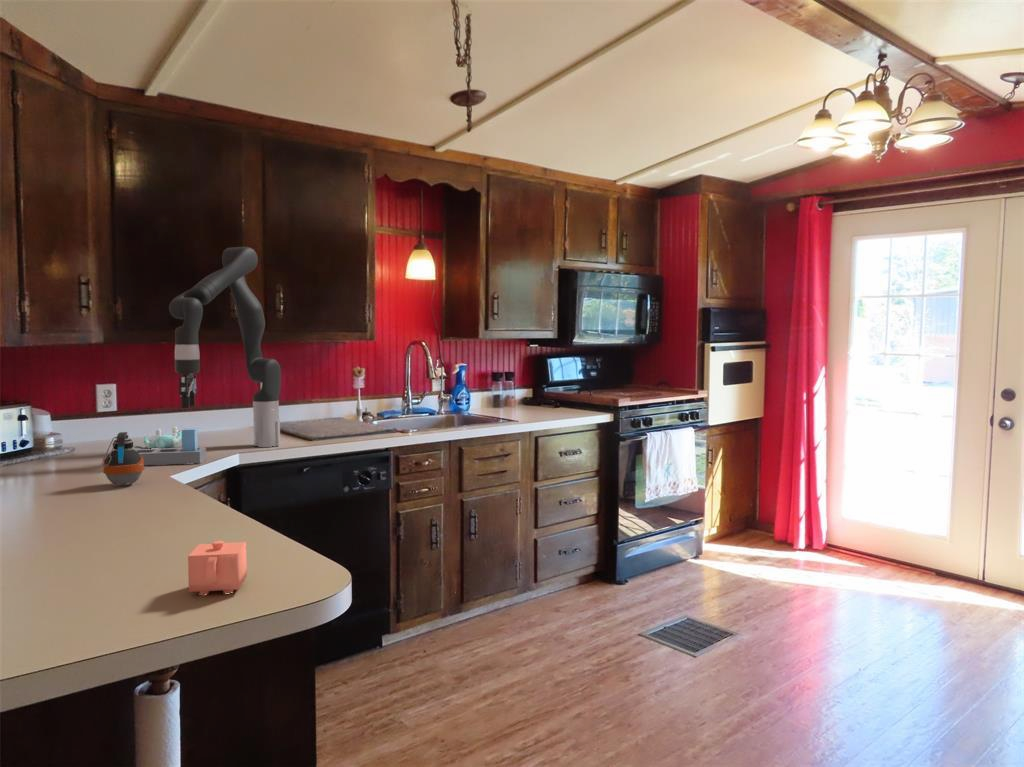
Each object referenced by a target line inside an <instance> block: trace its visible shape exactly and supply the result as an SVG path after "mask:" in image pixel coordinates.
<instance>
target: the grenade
mask: <svg viewBox="0 0 1024 767" xmlns="http://www.w3.org/2000/svg"><path fill="white" fill-rule="evenodd" d="M114 439H115V440H114ZM111 446H112V449H111V450H110V448H111ZM109 450H110V452H109ZM108 452H109V453H108ZM101 466H102V469H103V475H104V474H105V476H106V478H107V480H109V482H110V483H112V484H113V485H116V486H120V487H123V486H124V487H126V486H129V485H130V486H131V485H132V484H134V483H136V482H137V481H138V480H139V479H140V477H141V476H142V473H143V471H144V470H145V466H144V460H143V457H142V455H141V454H139V453H138V452H137V451H135V449H134V442H133V440H132V439H130V438H129V435H128V432H127V431H123V432H119V433H117V435H116V436H114V437H112V439H111V442H110V444H109V446H108V448H107V451H106V453H105V454H104V457H103V459H102V461H101Z"/></svg>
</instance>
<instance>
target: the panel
mask: <svg viewBox="0 0 1024 767" xmlns="http://www.w3.org/2000/svg"><path fill="white" fill-rule="evenodd" d="M134 450H135V451H137V452H138V453H139V454H141V455H142V457H143V460H144V465H156V466H167V465H166V464H184V465H188V464H187V463H198V464H197V465H201V464H202V463H203V462H204V461H205V460H206V459H207V447H206V446H201V447H200V446H198V450H197V451H182V447H170V448H160V449H150V448H136V449H134ZM201 462H202V463H201ZM200 463H201V464H200Z"/></svg>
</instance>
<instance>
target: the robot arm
mask: <svg viewBox="0 0 1024 767" xmlns="http://www.w3.org/2000/svg"><path fill="white" fill-rule="evenodd" d="M221 261H222V265H223V266H222V267H223V268H221V269H219V270H216V271H214V272H212V273H210V274H209V275H206V276H204V277H203V278H202V279H200V281H198V282H197V283H196V284H195V285H194V286H192V287H191V288H190V289H187V290H186V291H184V292H183V293H181V294H178V295H177V296H175V297H174V298H173V299H172V300H171V301H170V303H169V305H168V310H169V312H168V313H169V314H170V315H171V316H172V317H173V318H174V319H177V320H183V323H182V325H181V326H178V327H176V328H175V330H174V342H175V345H174V371H175V373H178V374H181V376H179V377H178V390H179V391H178V395H179V396H180V397H181V408H182V409H190V407H194V406H196V393H197V392H198V387H197V386H198V385H197V373H199V372H200V371H201V363H200V362H201V360H200V358H201V357H200V355H201V354H200V346H199V330H200V328H201V323H202V320H203V314H204V306H206V305H208V304H209V303H211V302H212V301H213V300H214V299H215V298H216V297H217V296H218V295H219V294H221V292H223V291H224V290H225V289H226V288H228V287H229V288H230V291H231V295H232V298H233V302H234V307H235V312H236V316H237V317H236V318H237V321H238V322H237V323H238V325H239V328H240V333H241V339H242V343H243V348H244V355H245V357H244V358H245V364H246V370H247V371H246V372H247V375H248V377H249V379H250V380H251V381H252V382H253V383H257V384H258V383H259V384H260V383H261V389H259V391H258V390H257V391H256V392H254V393H253V394H252V412H253V413H252V414H253V418H252V419H253V446H254V447H255V446H258V447H257V448H270V447H271V448H272V446H273V447H280V445H281V423H280V422H281V420H280V409H279V408H280V404H279V403H280V402H279V401H280V399H279V397H280V394H281V388H282V387H281V383H282V382H281V381H282V369H281V365H280V363H279V361H277V359H274V358H264V357H263V353H262V349H261V342H262V338H263V336H264V332H265V328H266V320H265V314H264V310H263V307H262V306H263V305H261V304H262V303H261V302H260V300H258V298H257V297H256V296H255V294H254V293H253V292H252V290H251V289H250V287H249V286H248V284H247V281H246V278H245V276H246V275H248V274H249V273H251V272H252V271H254V270H255V269H256V268H257V265H258V263H259V262H258V261H259V258H258V254H257V252H256V251H255V249H253V248H252V247H248V246H234V247H226V248H225V249H224V250H223V252H222V256H221ZM194 373H195V374H194ZM279 444H280V445H279Z"/></svg>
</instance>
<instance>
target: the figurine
mask: <svg viewBox="0 0 1024 767" xmlns="http://www.w3.org/2000/svg"><path fill="white" fill-rule="evenodd" d="M155 434H156V436H155V438H154V439H152V440H151V441H149V438H150V437H149V436H148V435H145V436H144V439H143V443H144V445H145V447H146V448H147V447H149V448H148V449H150V448H159V449H160V448H168V447H170V448H173V446H175V445H179V444H180V442H181V441H182V430H179V429H178V427H177V426H173V427H172V434H162V429H160V428H157V429H156V430H155ZM178 443H179V444H178Z"/></svg>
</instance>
